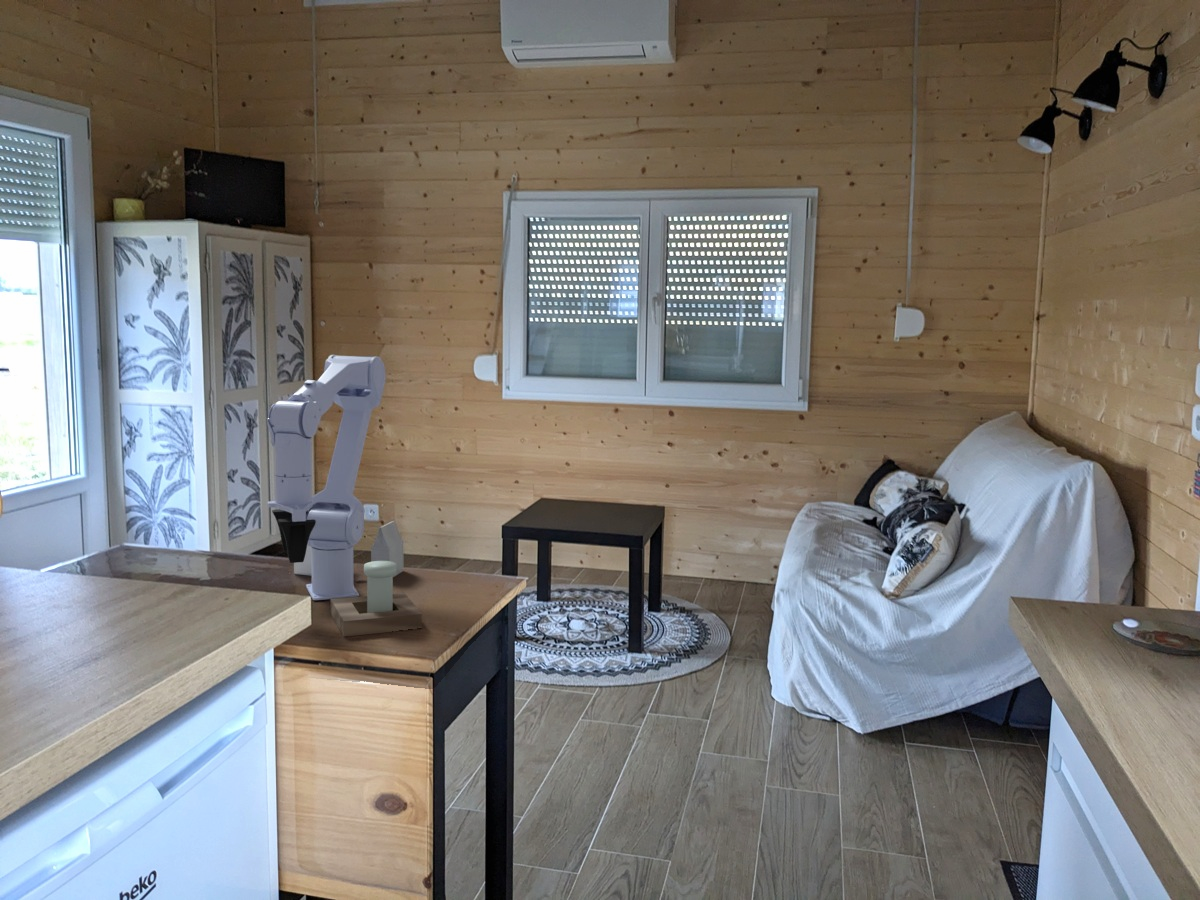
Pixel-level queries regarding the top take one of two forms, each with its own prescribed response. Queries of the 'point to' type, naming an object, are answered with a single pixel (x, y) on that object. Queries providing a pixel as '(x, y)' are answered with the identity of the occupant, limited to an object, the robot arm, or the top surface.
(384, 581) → the green peg
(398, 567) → the grey gabled block
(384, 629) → the walnut holder
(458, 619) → the top surface
